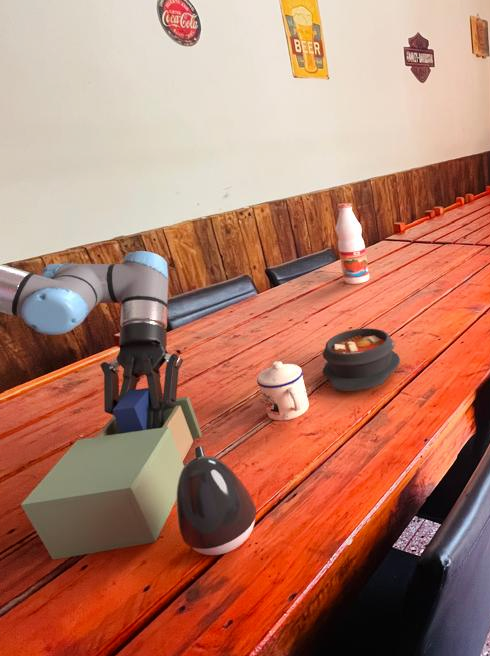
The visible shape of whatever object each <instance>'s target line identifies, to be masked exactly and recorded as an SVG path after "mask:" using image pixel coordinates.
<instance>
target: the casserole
mask: <svg viewBox="0 0 490 656" xmlns="http://www.w3.org/2000/svg"><path fill="white" fill-rule="evenodd" d="M395 346H396V345H395V341H394V340H393V339H392V338H391V337H390V335H389V334H388V333H387V331H384V330H381V329H379V328H370V327H369V328H365V327H364V328H356V329H355V328H354V329H350V330H347V331H343V332H340V333H337V334H336V335H334V336H332V337H330V338H329V339H328V340H327V341H326V343H325V347H324V349H323V351H322V357H323V359H324V360H325V361H326V363H325V364H324V365H323V367H322V374H323V377H325V378H326V379H327V380H328V381H329V382H330V384H331V386H332V388H333V389H335V390H338V391H349V392H350V391H352V392H353V391H360V390H361V391H362V390H367V389H371V388H375V387H377V386H380V385H382V384H384V383H385V382H386V380H387V379H388V378H389V377H390V375H391V374H392V373H393V372H394V371H395V370H396V369H397V368H398V367H399V365H400V364H401V358H400V355H398V353H396V352H395V351H393V350H394V349H395Z"/></svg>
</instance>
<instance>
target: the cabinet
mask: <svg viewBox="0 0 490 656" xmlns="http://www.w3.org/2000/svg"><path fill="white" fill-rule="evenodd" d="M184 466H185V465H184V461H183V462H182V460H181V457H180V454H179V452H178V449H177V447H176V444H175V442H174V439H173V436H172V434H171V431H170V428H169V427H164V428H157V429H150V430H143V431H135V432H128V433H121V434H114V435H107V436H100V437H96V436H94V437H87V438H80V439H77V440H76V441H75V442H74V443H73V444H72V445H71V446H70V448H69V449H68V450H67V451H66V452H65V453H64V454H63V456H62V457H61V458H60V459H58V461H57V463H55V465H53V467H52V468H51V469H50V470H49V472H48V473H47V474H46V475H45V476H44V477H43V478H42V480H41V481H39V483H38V484H37V485H36V486H35V488H34V489H33V490H32V491H31V492H30V493H29V495H28V496H27V497H26V498H25V499H24V500H23V501H22V503H21V504H20V506H21V508H22V511H24V513H25V515H26V517H27V518H28V520H29V521H30V523H31V525H32V527H33V529H34V530H35V532H36V533H37V536H38V537H39V539H40V540H41V542H42V544H43V545H44V547H45V549H46V550H47V552H48V554H49V555H50V558H51V559H52V560H60V559H64V558H65V559H67V558H71V557H77V556H82V555H88V554H95V553H100V552H101V553H102V552H106V551H112V550H118V549H125V548H129V547H135V546H142V545H146V544H152V543H156V542H157V540H158V538H159V536H160V534H161V532H162V530H163V528H164V526H165V524H166V522H167V520H168V519H169V516H170V514H171V512H172V510H173V507H174V506H175V504H176V503H177V485H178V480H179V477H180V474H181V471H182V469H183V468H184Z"/></svg>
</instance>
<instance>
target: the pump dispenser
mask: <svg viewBox="0 0 490 656" xmlns="http://www.w3.org/2000/svg"><path fill="white" fill-rule="evenodd" d="M194 457H195V458H192V459H191V460H189V461H188V462H186V464H185V465H184V468H183V469H182V471H181V474H180V477H179V480H178V485H177V500H176V516H177V523H178V528H179V532H180V536H181V539H182V541H183V542H184V544H185V545H187V546H189V547H190V548H191V549H193V550H194V551H196V552H197V553H198V554H202V555H204V556H205V555H206V556H220V555H224V554H227V553H230V552H232V551H233V550H235V549H237V548H239V547H240V546H241V545H243V544H244V543H245V542H246V541H247V539H248V538H249V537H250V535H251V533H252V532H253V529H254V527H255V522H256V517H257V507H256V505H255V501H254V498H253V497H252V496H251V494H250V492H249V490H248V489H247V488H246V485H245V484H244V483H243V481H242V480H241V479H240V478H239V476H238V475H237V474H236V473H235V472H234V471H233V469H232V468H231V467H229V466H228V465H227V464H226V463H224V462H223V461H222V460H220V459H218V458H217V457H214V456H210V455H206V454H205V451H204V447H203V446H200V445H198V446H196V447H195V448H194Z"/></svg>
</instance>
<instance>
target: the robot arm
mask: <svg viewBox="0 0 490 656" xmlns="http://www.w3.org/2000/svg"><path fill="white" fill-rule="evenodd" d="M168 271H169V270H168V262H167V260H166V259H165V258H164V257H162V256H161V255H160V254H158V253H154V252H150V251H147V250H146V251H145V250H136V251H134V252H132V251H131V252H128V253H126V255H125V256H124V257H123V260H122V263H111V264H109V263H107V264H106V263H73V262H65V263H50V264H47V265H46V266H45V267H44V268H43V271H42V273H41V275H40V274H35V273H31V272H29V271H25V270H23V269H19V268H15V267H12V266H9V265H6V264H1V263H0V313H3V314H6V315H7V314H8V315H11V316H14V317H19V318H21V319H23V321H24V322H25V324H26V325H27V326H28V327H30V328H31V329H32V330H34V331H36V332H38V333H40V334H43V335H48V336H59V335H63V334H67V333H69V332H71V331H72V330H74V329H75V328H76V327H78V326H80V325H81V324H82V323H83V322H84V320H85V319H86V318H87V316H88V315H89V314H90V312H91V311H93V310H94V308H96V307H97V306H98V304H120V303H121V304H120V307H121V308H120V319H119V320H120V322H119V325H120V328H119V339H118V340H119V341H118V345H119V352H118V354H117V356H116V358H115V359H113V360H112V361H109V362H107V361H103V362H101V363H100V368H101V371H102V373H103V392H104V393H103V395H104V397H103V398H104V399H103V400H104V402H103V403H104V405H103V409H104V412H105V413H106V414H109V415H112V416H113V415H114V413H113V411H112V410H113V409H114V408H115V407H116V405H117V404H118V403H119V402H120V401H121V400H122V398H123V397H124V396H125V395H126V394H127V393H128V391H129V390H136V389H137V387H138V383H139V382H140V379H141V377H143V376H145V377H146V382H147V388H149V394H150V400H151V407H150V408H151V409H153V411H147V428H146V430H150V429H157V428H162V427H163V425H164V412H165V411H166V410H167V409H169V408H174V407H175V405H176V398H177V395H178V394H177V393H178V382H179V371H180V368H181V366H182V364H183V362H184V360H183V358H182V357H181V356H179V355H178V354H176V353H173V354H171V353H169V352H168V350H167V345H168V344H167V340H168V338H167V336H168V333H167V330H166V329H167V327H168V297H169V282H170V280H169V272H168ZM164 364H166V366H165V372H164V384H163V387H162V382H161V377H162V376H161V371H160V368H161V367H162V366H163V365H164ZM120 367H121V368H122V369H123V372H122V378H123V379H122V383H121V388H120V378H119V373H120ZM114 416H115V415H114ZM116 433H117V434H121V433H122V432H121V429H120V427H119V425H118V422H117V420H116Z"/></svg>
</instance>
